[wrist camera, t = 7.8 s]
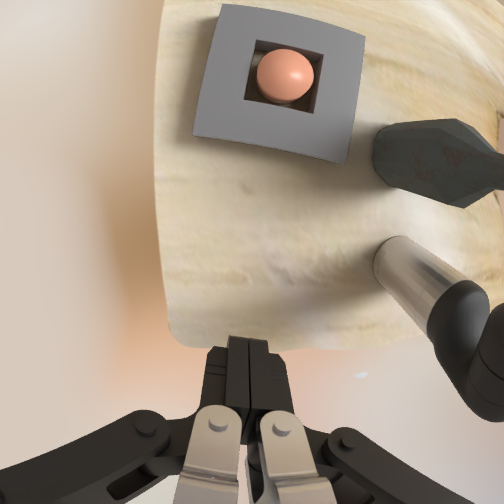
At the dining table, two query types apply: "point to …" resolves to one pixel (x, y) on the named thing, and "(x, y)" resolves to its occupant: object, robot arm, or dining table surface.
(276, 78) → the button cap
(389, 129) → the bottle
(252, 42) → the button box
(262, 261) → the dining table surface
